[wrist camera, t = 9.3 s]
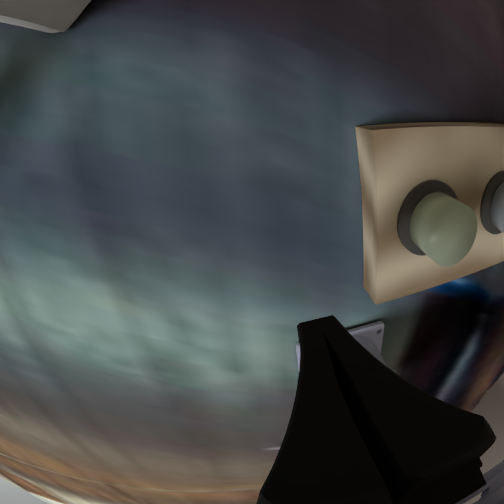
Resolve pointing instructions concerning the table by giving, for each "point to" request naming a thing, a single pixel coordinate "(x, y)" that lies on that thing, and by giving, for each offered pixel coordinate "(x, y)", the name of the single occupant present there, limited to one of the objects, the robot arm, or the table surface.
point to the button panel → (415, 189)
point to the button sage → (443, 228)
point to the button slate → (498, 208)
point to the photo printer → (42, 13)
